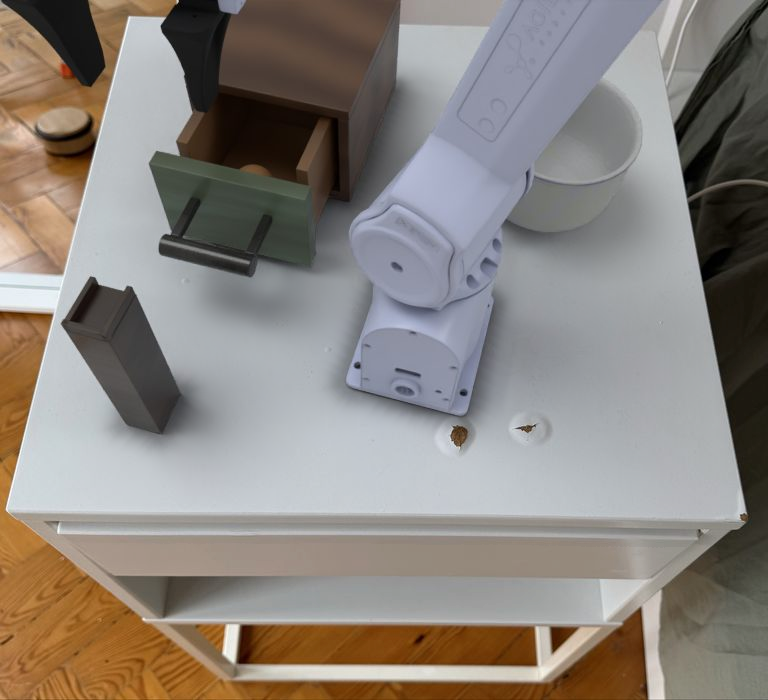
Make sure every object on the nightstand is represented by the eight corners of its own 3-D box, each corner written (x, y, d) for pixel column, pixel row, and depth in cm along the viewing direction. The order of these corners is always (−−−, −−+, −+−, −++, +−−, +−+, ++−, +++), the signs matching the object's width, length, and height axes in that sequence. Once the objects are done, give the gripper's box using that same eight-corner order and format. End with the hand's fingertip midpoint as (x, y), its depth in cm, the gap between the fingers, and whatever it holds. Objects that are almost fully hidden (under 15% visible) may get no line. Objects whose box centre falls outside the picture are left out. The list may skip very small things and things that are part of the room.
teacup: (605, 154, 58) (639, 71, 51) (614, 262, 53) (652, 184, 46) (432, 138, 59) (442, 52, 52) (423, 243, 53) (432, 163, 46)
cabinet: (349, 202, 55) (348, 112, 47) (205, 168, 56) (182, 75, 49) (396, 85, 62) (401, -9, 54) (266, 58, 63) (254, -38, 56)
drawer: (288, 321, 48) (279, 258, 42) (143, 284, 49) (114, 218, 43) (361, 144, 57) (362, 71, 51) (236, 116, 58) (222, 41, 52)
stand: (161, 434, 45) (105, 335, 35) (125, 424, 45) (60, 323, 35) (181, 393, 46) (133, 286, 36) (146, 383, 47) (89, 275, 37)
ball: (267, 221, 51) (262, 190, 48) (228, 211, 51) (221, 180, 49) (284, 192, 52) (279, 161, 50) (245, 183, 53) (239, 151, 50)
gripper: (257, -166, 35) (282, 71, 47) (-17, -215, 36) (74, 26, 48) (199, -89, 31) (242, 147, 43) (-101, -147, 33) (19, 96, 45)
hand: (150, 88), depth 45 cm, fingers open, 7 cm apart
